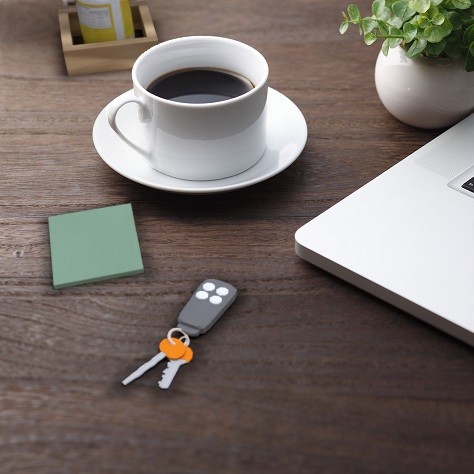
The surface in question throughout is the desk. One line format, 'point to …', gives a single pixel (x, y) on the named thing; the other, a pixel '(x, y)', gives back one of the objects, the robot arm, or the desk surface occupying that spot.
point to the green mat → (94, 246)
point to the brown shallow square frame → (105, 43)
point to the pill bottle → (105, 20)
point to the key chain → (191, 327)
